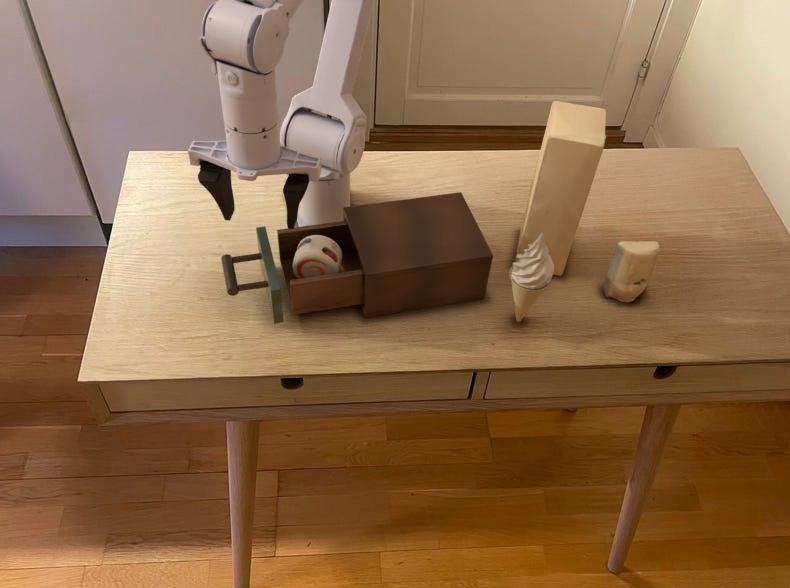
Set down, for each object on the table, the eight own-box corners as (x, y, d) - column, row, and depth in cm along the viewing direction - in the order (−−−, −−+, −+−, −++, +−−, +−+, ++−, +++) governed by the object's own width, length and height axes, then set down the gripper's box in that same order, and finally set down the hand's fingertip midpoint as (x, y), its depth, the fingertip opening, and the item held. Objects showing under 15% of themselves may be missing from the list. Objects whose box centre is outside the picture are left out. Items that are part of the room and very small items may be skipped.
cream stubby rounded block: (621, 271, 104) (638, 226, 97) (652, 292, 101) (672, 247, 95) (595, 289, 101) (611, 244, 95) (626, 311, 99) (645, 267, 92)
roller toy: (298, 261, 98) (296, 227, 94) (346, 268, 98) (346, 234, 93) (291, 285, 95) (288, 251, 91) (340, 292, 95) (340, 258, 91)
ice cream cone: (507, 338, 94) (530, 249, 83) (493, 309, 97) (513, 219, 86) (544, 331, 95) (571, 242, 84) (529, 303, 99) (553, 213, 87)
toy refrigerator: (567, 278, 102) (610, 146, 86) (514, 268, 103) (546, 135, 86) (571, 240, 107) (612, 108, 91) (520, 231, 108) (551, 98, 91)
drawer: (233, 330, 91) (228, 297, 87) (222, 266, 98) (216, 232, 94) (391, 305, 96) (394, 272, 91) (370, 245, 102) (371, 212, 98)
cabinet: (365, 317, 95) (366, 274, 89) (342, 251, 103) (343, 207, 97) (484, 298, 99) (493, 255, 93) (454, 235, 106) (461, 191, 100)
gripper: (171, 130, 78) (191, 232, 88) (310, 149, 77) (313, 249, 87) (193, 94, 82) (209, 195, 92) (324, 111, 82) (325, 211, 92)
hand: (261, 219), depth 90 cm, fingers open, 7 cm apart
